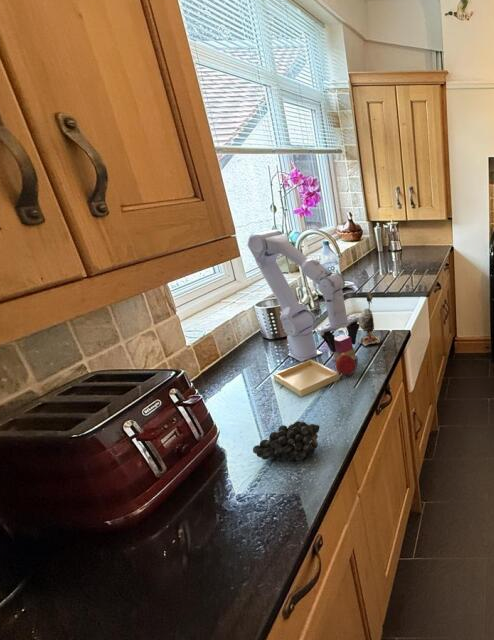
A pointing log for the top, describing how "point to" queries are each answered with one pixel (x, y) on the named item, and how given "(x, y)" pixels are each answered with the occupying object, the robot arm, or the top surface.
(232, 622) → the top surface
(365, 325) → the grey figurine
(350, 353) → the ash block
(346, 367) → the onion
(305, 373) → the tray
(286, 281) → the robot arm
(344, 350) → the mulberry block
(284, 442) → the fruit
